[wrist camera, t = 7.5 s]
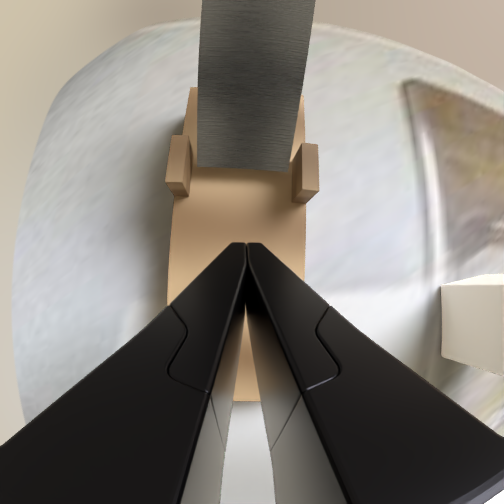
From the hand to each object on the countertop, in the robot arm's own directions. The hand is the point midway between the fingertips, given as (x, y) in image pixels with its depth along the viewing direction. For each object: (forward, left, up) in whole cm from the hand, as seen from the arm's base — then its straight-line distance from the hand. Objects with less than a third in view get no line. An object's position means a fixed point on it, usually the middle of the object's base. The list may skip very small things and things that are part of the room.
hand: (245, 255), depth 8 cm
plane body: (+2, 0, -10) cm, 10 cm away
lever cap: (+5, 0, -7) cm, 8 cm away
